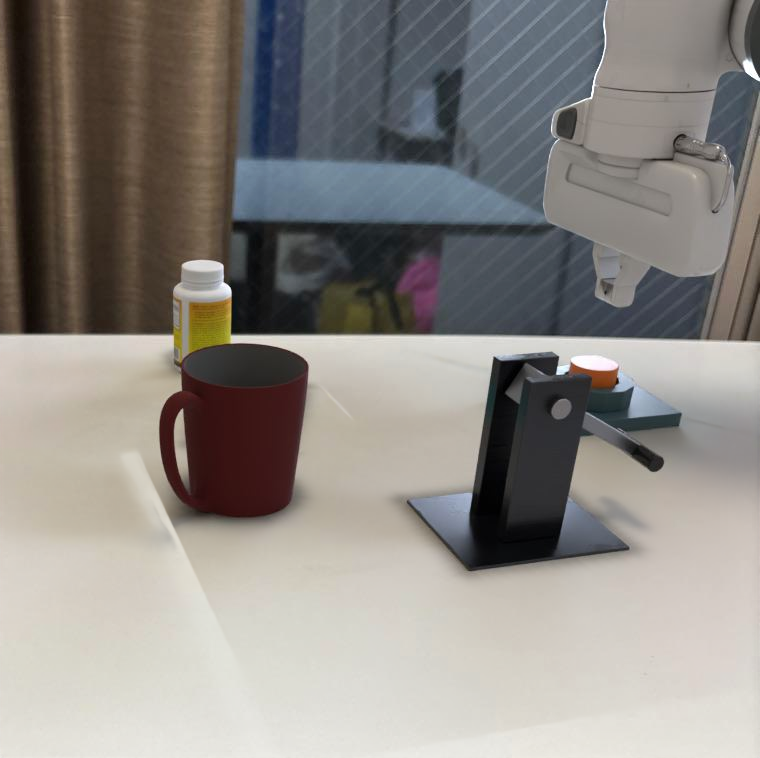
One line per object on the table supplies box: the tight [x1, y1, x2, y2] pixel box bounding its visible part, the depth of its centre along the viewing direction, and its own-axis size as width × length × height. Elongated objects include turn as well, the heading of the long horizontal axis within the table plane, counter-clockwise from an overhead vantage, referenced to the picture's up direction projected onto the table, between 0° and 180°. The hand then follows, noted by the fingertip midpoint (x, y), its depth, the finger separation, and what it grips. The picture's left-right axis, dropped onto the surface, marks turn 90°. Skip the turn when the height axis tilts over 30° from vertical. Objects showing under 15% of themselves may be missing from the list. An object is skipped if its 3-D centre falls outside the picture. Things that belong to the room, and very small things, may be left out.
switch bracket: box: [406, 351, 630, 572], centre depth 71 cm, size 12×10×13 cm
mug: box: [158, 342, 310, 519], centre depth 74 cm, size 12×9×11 cm
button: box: [568, 354, 620, 388], centre depth 91 cm, size 4×4×2 cm
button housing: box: [556, 364, 683, 437], centre depth 92 cm, size 12×10×4 cm
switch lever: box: [505, 363, 665, 473], centre depth 71 cm, size 12×5×2 cm, turn 105°
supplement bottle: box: [172, 259, 233, 373], centre depth 100 cm, size 6×6×10 cm
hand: (612, 302), depth 87 cm, fingers closed
